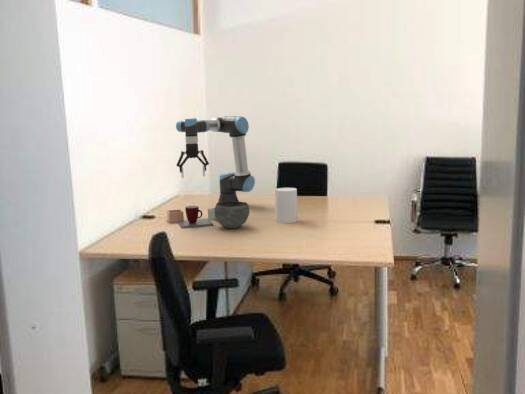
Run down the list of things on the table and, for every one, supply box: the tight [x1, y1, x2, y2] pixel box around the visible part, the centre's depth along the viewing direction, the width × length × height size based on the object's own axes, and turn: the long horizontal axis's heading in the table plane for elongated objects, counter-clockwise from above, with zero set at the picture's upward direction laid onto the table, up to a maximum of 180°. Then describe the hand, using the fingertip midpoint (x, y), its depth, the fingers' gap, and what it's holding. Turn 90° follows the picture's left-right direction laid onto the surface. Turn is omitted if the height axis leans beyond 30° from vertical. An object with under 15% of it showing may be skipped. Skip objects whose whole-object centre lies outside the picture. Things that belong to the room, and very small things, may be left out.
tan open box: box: [166, 208, 185, 224], centre depth 370 cm, size 9×9×7 cm
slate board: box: [176, 218, 214, 229], centre depth 363 cm, size 20×16×1 cm
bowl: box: [214, 201, 250, 229], centre depth 351 cm, size 21×21×15 cm
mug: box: [184, 205, 203, 223], centre depth 362 cm, size 11×8×10 cm
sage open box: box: [207, 207, 218, 222], centre depth 375 cm, size 8×8×7 cm
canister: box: [274, 187, 298, 224], centre depth 365 cm, size 14×14×20 cm
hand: (193, 176), depth 366 cm, fingers open, 13 cm apart
